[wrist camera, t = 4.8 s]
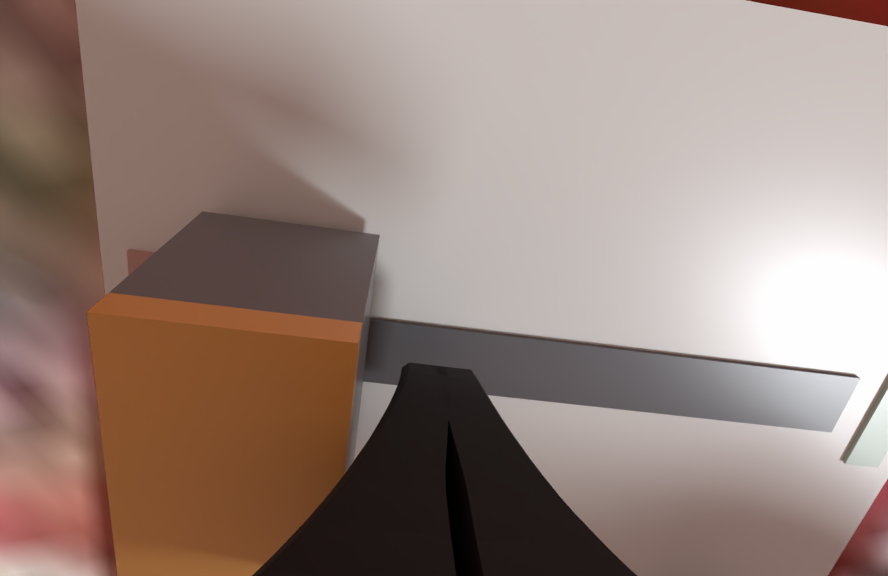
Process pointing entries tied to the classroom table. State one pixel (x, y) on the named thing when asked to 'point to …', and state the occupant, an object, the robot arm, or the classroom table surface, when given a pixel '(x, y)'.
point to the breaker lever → (229, 390)
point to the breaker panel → (560, 230)
